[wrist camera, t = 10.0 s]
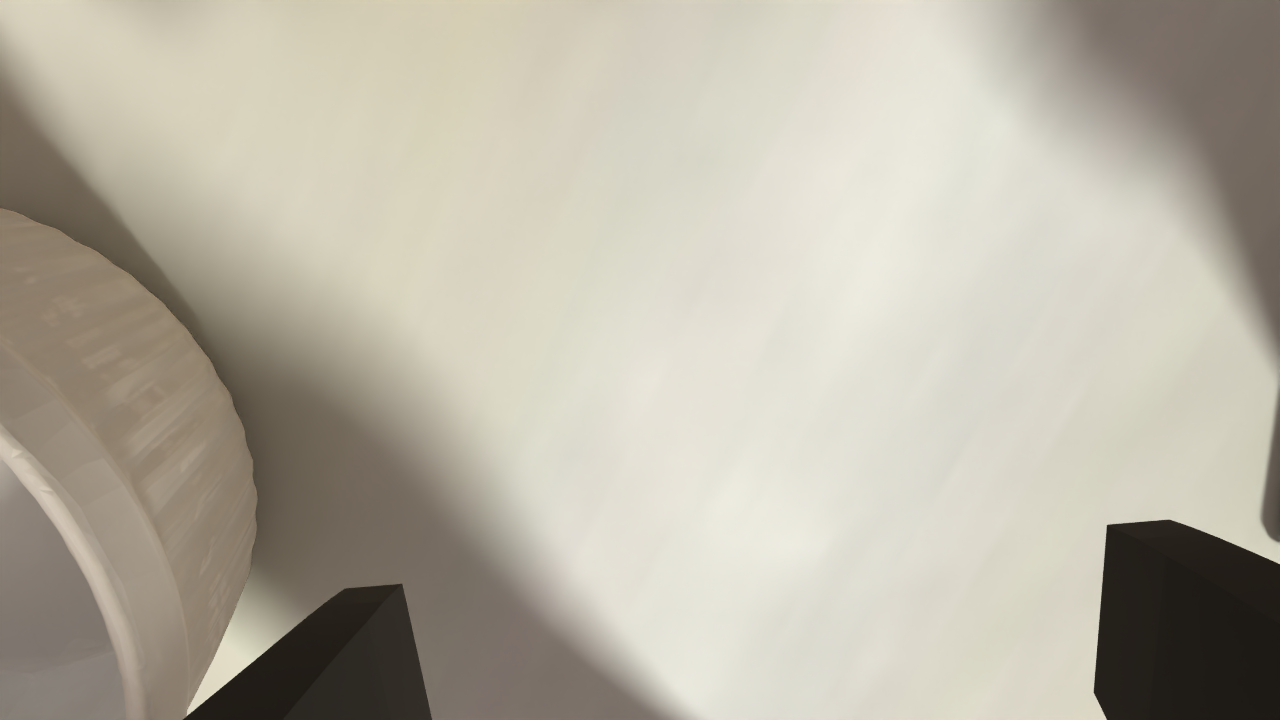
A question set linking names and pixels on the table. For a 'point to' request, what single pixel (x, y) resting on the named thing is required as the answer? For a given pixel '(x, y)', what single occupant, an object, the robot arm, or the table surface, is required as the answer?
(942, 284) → the table surface
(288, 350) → the table surface
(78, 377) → the ramekin
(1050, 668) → the table surface
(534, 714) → the table surface
